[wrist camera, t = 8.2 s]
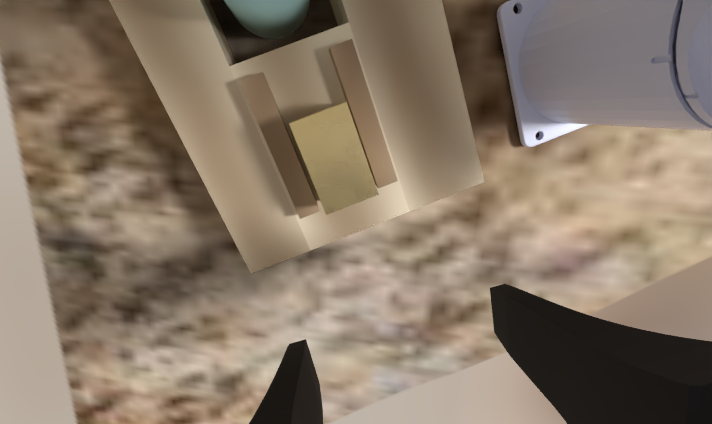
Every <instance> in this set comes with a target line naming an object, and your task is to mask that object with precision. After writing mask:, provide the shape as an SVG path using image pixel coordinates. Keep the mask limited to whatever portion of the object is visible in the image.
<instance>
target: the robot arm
mask: <svg viewBox="0 0 712 424" xmlns="http://www.w3.org/2000/svg"><path fill="white" fill-rule="evenodd" d="M514 5H516V6H517V8H518V12H517V14H515V13H514V11H513V7H514ZM497 20H498V25H499V30H500V36H501V41H502V46H503V51H504V57H505V62H506V67H507V72H508V78H509V83H510V88H511V93H512V99H513V104H514V109H515V114H516V120H517V125H518V130H519V135H520V141H521V143H522V145H523V146H526V147H533V146H536V145H538V144H541V143H543V142H546V141H548V140H551V139H554V138H556V137H559V136H561V135H564V134H566V133H569V132H571V131H574V130H577V129H579V128H582V127H584V126H587V125H589V124H591V125H610V126H630V127H650V128H670V129H690V130H709V131H712V0H510V1H507V2H505V3H503V4H502V5H500V7H499V8H498V10H497ZM537 132H539V137H538V138H537V139H536V137H535V136H536V133H537ZM490 293H491V303H492V313H493V323H494V332H495V334H496V335H497V337H498V338H499V340H500V342H501V343H502V345H503V346H504V348H505V349H506V350H507V352H508V353H509V355H510V356H511V357H512V358H513V360H514V361H515V362H516V363H517V364H518V365H519V367H520V368H521V369H522V370H523V371H524V372H525V374H526V375H527V376H528V377H529V378H530V379H531V381H532V382H533V383H534V384H535V385H536V386H537V388H538V389H539V390H540V391H541V392H542V393H543V394H544V396H545V397H546V398H547V399H548V400H549V401H550V402H551V403H552V405H553V406H554V407H555V408H556V410H557V411H558V412H559V413H560V414H561V416H562V417H563V418H564V420H565V421H566V422H567V424H712V342H710V341H703V340H696V339H690V338H683V337H677V336H671V335H665V334H660V333H655V332H651V331H646V330H641V329H637V328H632V327H628V326H624V325H621V324H617V323H613V322H609V321H606V320H602V319H599V318H595V317H592V316H589V315H586V314H583V313H580V312H577V311H574V310H572V309H569V308H566V307H563V306H561V305H558V304H555V303H553V302H550V301H548V300H545V299H543V298H540V297H538V296H535V295H533V294H530V293H528V292H525V291H523V290H520V289H518V288H515V287H512V286H510V285H507V284H503V285H499V286H496V287H492V288H490ZM249 424H323V409H322V400H321V392H320V384H319V380H318V377H317V374H316V370H315V367H314V364H313V361H312V358H311V354H310V351H309V348H308V345H307V342H306V340H302V341H298V342H295V343H291V344H289V346H288V347H287V350H286V352H285V354H284V357H283V359H282V362H281V364H280V366H279V368H278V371H277V373H276V375H275V377H274V379H273V381H272V383H271V385H270V387H269V389H268V391H267V393H266V395H265V397H264V399H263V400H262V402H261V404H260V406H259V408H258V409H257V411H256V413H255V415H254V416H253V418H252V420H251V421H250V423H249Z"/></svg>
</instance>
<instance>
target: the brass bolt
mask: <svg viewBox="0 0 712 424" xmlns="http://www.w3.org/2000/svg"><path fill="white" fill-rule="evenodd" d="M289 125H290V128H291V130H292V133H293V135H294V137H295V140H296V142H297V145H298V147H299V150H300V152H301V155H302V157H303V159H304V162H305V164H306V167H307V169H308V172H309V174H310V177H311V179H312V181H313V184H314V186H315V189H316V191H317V194H318V196H319V199H320V201H321V204H322V206H323V208H324V211H325V213H326V215H328V214H330V213H333V212H335V211H338V210H341V209H343V208H346V207H348V206H351V205H353V204H356V203H359V202H361V201H364V200H366V199H369V198H371V197H374V196H376V195H379V194H378V191H377V188H376V185H375V182H374V179H373V177H372V174H371V171H370V168H369V165H368V162H367V159H366V156H365V153H364V151H363V148H362V145H361V142H360V139H359V136H358V133H357V130H356V127H355V125H354V122H353V119H352V116H351V113H350V110H349V107H348V104H347V102H343V103H339V104H336V105H334V106H331V107H328V108H326V109H323V110H320V111H318V112H315V113H312V114H310V115H307V116H304V117H302V118H299V119H296V120H294V121H291V122H290V123H289Z"/></svg>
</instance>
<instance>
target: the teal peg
mask: <svg viewBox="0 0 712 424" xmlns="http://www.w3.org/2000/svg"><path fill="white" fill-rule="evenodd" d="M224 1H225V3H226V4H227V6H228V7H229V9H230V10H231V12H232V13H233V15H234V16H235V18H236V19H237V20H238V22H239V23H240V24H241V25H242V26H243V27H244V28H245V29H247V30H248V31H249V32H251V33H253V34H255V35H257V36H259V37H262V38H268V39H278V38H282V37H286V36H288V35H290V34H292V33H293V32H294V31H296V30H297V29H298V28H299V27H300V26H301V24H302V23H303V21H304V20H305V18H306V16H307V13H308V9H309V5H310V0H224Z"/></svg>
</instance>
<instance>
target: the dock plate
mask: <svg viewBox="0 0 712 424" xmlns="http://www.w3.org/2000/svg"><path fill="white" fill-rule="evenodd" d="M109 1H110V3H111V5H112V7H113V9H114V11H115V13H116V15H117V17H118V19H119V21H120V23H121V25H122V26H123V28H124V30H125V32H126V34H127V36H128V38H129V40H130V42H131V44H132V46H133V48H134V50H135V52H136V53H137V55H138V57H139V59H140V61H141V63H142V65H143V67H144V69H145V71H146V73H147V75H148V77H149V78H150V80H151V82H152V84H153V86H154V88H155V90H156V92H157V94H158V96H159V98H160V100H161V102H162V103H163V105H164V107H165V109H166V111H167V113H168V115H169V117H170V119H171V121H172V123H173V125H174V127H175V128H176V130H177V132H178V134H179V136H180V138H181V140H182V142H183V144H184V146H185V148H186V150H187V152H188V154H189V155H190V157H191V159H192V161H193V163H194V165H195V167H196V169H197V171H198V173H199V175H200V177H201V179H202V180H203V182H204V184H205V186H206V188H207V190H208V192H209V194H210V196H211V198H212V200H213V202H214V204H215V205H216V207H217V209H218V211H219V213H220V215H221V217H222V219H223V221H224V223H225V225H226V227H227V229H228V231H229V232H230V234H231V236H232V238H233V240H234V242H235V244H236V246H237V248H238V250H239V252H240V254H241V256H242V257H243V259H244V261H245V263H246V265H247V267H248V269H249V271H250V273H251V274H252V273H254V272H257V271H259V270H262V269H264V268H267V267H270V266H272V265H275V264H277V263H280V262H282V261H285V260H287V259H290V258H292V257H295V256H298V255H300V254H303V253H305V252H308V251H310V250H313V249H315V248H318V247H320V246H323V245H325V244H328V243H331V242H333V241H336V240H338V239H341V238H343V237H346V236H348V235H351V234H353V233H356V232H359V231H361V230H364V229H366V228H369V227H371V226H374V225H376V224H379V223H381V222H384V221H387V220H389V219H392V218H394V217H397V216H399V215H402V214H404V213H407V212H409V211H412V210H414V209H417V208H420V207H422V206H425V205H427V204H430V203H432V202H435V201H437V200H440V199H442V198H445V197H448V196H450V195H453V194H455V193H458V192H460V191H463V190H465V189H468V188H470V187H473V186H475V185H478V184H481V183H483V182H484V178H483V174H482V169H481V165H480V161H479V157H478V152H477V148H476V144H475V140H474V135H473V131H472V127H471V122H470V118H469V114H468V110H467V105H466V101H465V97H464V93H463V88H462V84H461V80H460V76H459V71H458V67H457V63H456V59H455V54H454V50H453V46H452V42H451V37H450V33H449V29H448V24H447V20H446V16H445V12H444V7H443V3H442V0H330V3H331V6H332V9H333V12H334V15H335V18H336V21H337V24H338V26H337V27H335V28H332V29H329V30H327V31H324V32H321V33H318V34H316V35H313V36H310V37H308V38H305V39H302V40H299V41H297V42H294V43H291V44H289V45H286V46H283V47H280V48H278V49H275V50H272V51H270V52H267V53H264V54H261V55H259V56H256V57H253V58H250V59H248V60H245V61H242V62H240V63H236V60H235V58H234V56H233V53H232V51H231V49H230V46H229V44H228V42H227V40H226V37H225V35H224V33H223V30H222V28H221V26H220V23H219V21H218V19H217V16H216V14H215V12H214V10H213V7H212V5H211V3H210V0H109ZM343 102H347V104H348V107H349V110H350V113H351V116H352V119H353V122H354V125H355V127H356V130H357V133H358V136H359V139H360V142H361V145H362V148H363V151H364V153H365V156H366V159H367V162H368V165H369V168H370V171H371V174H372V177H373V179H374V182H375V185H376V188H377V191H378V194H379V195H376V196H374V197H371V198H369V199H366V200H364V201H361V202H359V203H356V204H353V205H351V206H348V207H346V208H343V209H341V210H338V211H335V212H333V213H330V214H328V215H326V213H325V211H324V208H323V206H322V204H321V201H320V199H319V196H318V194H317V191H316V189H315V186H314V184H313V181H312V179H311V177H310V174H309V172H308V169H307V167H306V164H305V162H304V159H303V157H302V155H301V152H300V150H299V147H298V145H297V142H296V140H295V137H294V135H293V133H292V130H291V128H290V125H289V123H290V122H291V121H294V120H296V119H299V118H302V117H304V116H307V115H310V114H312V113H315V112H318V111H320V110H323V109H326V108H328V107H331V106H334V105H336V104H339V103H343Z"/></svg>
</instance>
